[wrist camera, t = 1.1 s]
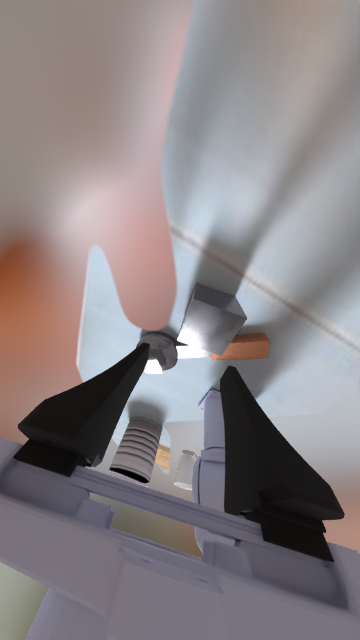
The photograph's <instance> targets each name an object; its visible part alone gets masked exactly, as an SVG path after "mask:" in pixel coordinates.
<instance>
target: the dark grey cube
mask: <svg viewBox="0 0 360 640" xmlns="http://www.w3.org/2000/svg"><path fill="white" fill-rule="evenodd" d="M246 320H247V317H246V315H245V313H244V311H243V310H242V308H241V306H240V304H239V303H238V301H237V299H236V297H234V296H232V295H229V294H226V293H223V292H221V291H218V290H215V289H212V288H209V287H207V286H204V285H201V284H198V283H197V284H196V286H195V289H194V292H193V294H192V297H191V300H190V302H189V305H188V308H187V310H186V313H185V316H184V319H183V322H182V326H181V329H180V332H179V336H178V339H177V341H180V342H183V343H185V344H188V345H191V346H194V347H197V348H199V349H202V350H205V351H208V352H211V353H214V354H216V355H219V356H222V354H223V353H224V351H225V350H226V349H227V347H228V346H229V344H230V343H231V341H232V340H233V338H234V337H235V336H236V334H237V333H238V331H239V330H240V328H241V327H242V325H243V324H244V322H245V321H246Z"/></svg>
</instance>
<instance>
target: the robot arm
mask: <svg viewBox="0 0 360 640" xmlns="http://www.w3.org/2000/svg"><path fill="white" fill-rule="evenodd" d="M149 349H150V344H148V343H145V342H143V343H142V344H140V345H139V346H138V347H137V348H136V349H135V350H134V351H132V352H131V353H130V354H129V355H127V356H126V357H125V358H123V359H122V360H121V361H119V362H118V363H116V364H115V365H113V366H112V367H110V368H109V369H107V370H106V371H104V372H102V373H101V374H99V375H97V376H95V377H93V378H92V379H90V380H88V381H86V382H84V383H82V384H80V385H78V386H75V387H73V388H71V389H69V390H67V391H64V392H62V393H60V394H57V395H55V396H53V397H50V398H48V399H45V400H44V401H43V402H42V403H40V404H39V405H38V406H37V407H36V408H35V409H34V410H33V411H32V412H31V413H30V414H29V415H28V416H27V417H25V418H24V420H23V421H21V422H20V423H19V424H18V429H19V430H20V431H21V432H22V433H23V434H24V435H25V436H27V437H28V438H29V440H28V441H27V442H26V443H25V444H24V445H22V444H20V443H18V442H15V441H12V440H9V439H6V438H2V437H0V562H2V563H4V564H6V565H8V566H10V567H12V568H14V569H16V570H17V571H19V572H21V573H23V574H25V575H27V576H29V577H31V578H33V579H35V580H36V581H39V582H40V583H42V584H44V585H46V586H48V587H49V588H48V590H47V592H46V595H45V597H44V599H43V601H42V603H41V606H40V608H39V610H38V612H37V614H36V616H35V619H34V621H33V623H32V625H31V628H30V630H29V632H28V634H27V636H26V639H25V640H360V554H359V553H358V552H357V551H356V550H352V549H349V548H346V547H343V546H340V545H337V544H333V543H328V542H326V540H325V537H324V535H323V532H324V533H326V529H325V527H324V524H323V522H322V520H336V519H342V518H344V512H343V510H342V508H341V506H340V504H339V502H338V500H337V498H336V496H335V495H334V493H333V491H332V489H331V487H330V485H329V484H328V483H327V482H325V480H323V478H322V477H321V476H320V475H319V474H318V473H317V472H316V471H315V470H313V468H312V467H311V466H309V464H308V463H307V462H306V461H305V460H304V459H303V458H302V457H301V456H300V455H299V454H298V453H297V451H295V449H294V448H293V447H292V446H291V445H290V444H289V443H288V441H287V440H286V439H285V438H284V437H283V436H282V434H281V433H280V432H279V431H278V430H277V428H276V427H275V426H274V425H273V423H272V422H271V421H270V419H269V418H268V417H267V416H266V414H265V413H264V412H263V410H262V409H261V407H260V406H259V404H258V403H257V402H256V400H255V399H254V397H253V395H252V394H251V392H250V391H249V389H248V388H247V386H246V384H245V383H244V381H243V379H242V377H241V376H240V374H239V372H238V371H237V369H236V367H232V366H228V368H227V369H226V371H225V373H224V374H223V376H222V378H221V379H220V392H218V391H216V390H210V391H209V392H208V394H207V395H206V396H205V397H204V399H203V400H202V401H201V403H200V404H199V405H198V408H200V409H202V410H204V450H201V457H200V456H199V457H198V458H197V460H196V462H195V464H194V468H193V476H192V499H193V502H190V501H187V500H184V499H181V498H178V497H175V496H172V495H169V494H165V493H162V492H159V491H156V490H153V489H150V488H147V487H144V486H141V485H137V484H134V483H131V482H128V481H125V480H122V479H119V478H116V477H112V476H109V475H106V474H103V473H100V472H97V471H94V470H91V469H88V468H85V466H87V467H91V466H92V467H96V466H97V465H98V464H100V463H101V462H102V459H103V457H104V454H105V452H106V449H107V447H108V444H109V442H110V440H111V437H112V435H113V432H114V430H115V428H116V425H117V423H118V421H119V418H120V416H121V414H122V412H123V409H124V407H125V405H126V403H127V400H128V398H129V396H130V394H131V392H132V391H133V389H134V387H135V385H136V383H137V382H138V380H139V378H140V376H141V374H142V373H143V371H144V369H145V366H146V364H147V362H148V358H149ZM88 491H89V492H92V493H95V494H98V495H101V496H104V497H107V498H110V499H113V500H116V501H119V502H122V503H125V504H128V505H131V506H134V507H137V508H141V509H144V510H146V511H149V512H153V513H156V514H159V515H162V516H165V517H168V518H171V519H174V520H177V521H180V522H183V523H186V524H189V525H192V526H194V531H195V539H196V542H197V544H198V546H199V548H200V550H201V552H202V553H203V558H199V557H196V556H193V555H190V554H187V553H184V552H181V551H178V550H176V549H173V548H170V547H167V546H164V545H161V544H158V543H155V542H152V541H149V540H146V539H143V538H141V537H138V536H135V535H132V534H128V533H125V532H122V531H119V530H116V529H113V528H110V525H111V522H112V519H113V516H114V513H115V512H114V510H113V509H111V506H108V505H105V504H102V503H100V502H97V501H95V500H92V499H89V498H90V494H89V492H88Z"/></svg>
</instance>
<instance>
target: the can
mask: <svg viewBox="0 0 360 640" xmlns="http://www.w3.org/2000/svg"><path fill="white" fill-rule="evenodd" d="M161 431H162V430H161V428H160V426H159V425H158V424H157V423H155V422H153V421H151V420H149V419H145V418H141V417H136V418H131V420H130V422H129V424H128V427H127V429H126V431H125V434H124V436H123V438H122V441H121V443H120V445H119V448H118V450H117V452H116V455H115V457H114V459H113V461H112V464H111V466H110V468H109V470H108V471H110V472H112V473H114V474H116V475H118V476H120V477H122V478H125V479H127V480H130V481H132V482H134V483H137V484H140V485H143V486H146V487H148V486H147V485H144V484H143V483H148V482H150V478H151V474H152V470H153V465H154V461H155V457H156V453H157V448H158V444H159V440H160V436H161Z"/></svg>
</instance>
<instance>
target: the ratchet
mask: <svg viewBox="0 0 360 640" xmlns="http://www.w3.org/2000/svg"><path fill="white" fill-rule="evenodd" d="M143 342H145V343H148V344H150V349H149V358H148V362H147V364H146V366H145V369H144V371H145V373H163V370H168V369H171V368H172V367H174V366H175V365H176V363H177V359H178V358H193V357H212V360H224V359H253V358H268V349H269V340H268V338H267V337H266V335H265V334H264V333H259V334H246V335H236V336H235V337H234V338H233V340H232V341H231V343H230V344H229V346H228V347H227V349H226V350H225V351H224V353H223V354H222V356H219V355H216V354H214V353H211V352H208V351H205V350H202V349H199V348H197V347H194V346H191V345H188V344H185V343H183V342H180V341H175V340H174V339H173V338H172V337H171V336H170V335H168V334H166V333H163V332H158V331H153V332H149V333H146V334H145V335H144V336H143V337H142V338H141V340H140V341H139V343H138V344H137V346H136V348H137V347H138V346H139V345H140V344H142V343H143Z"/></svg>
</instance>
